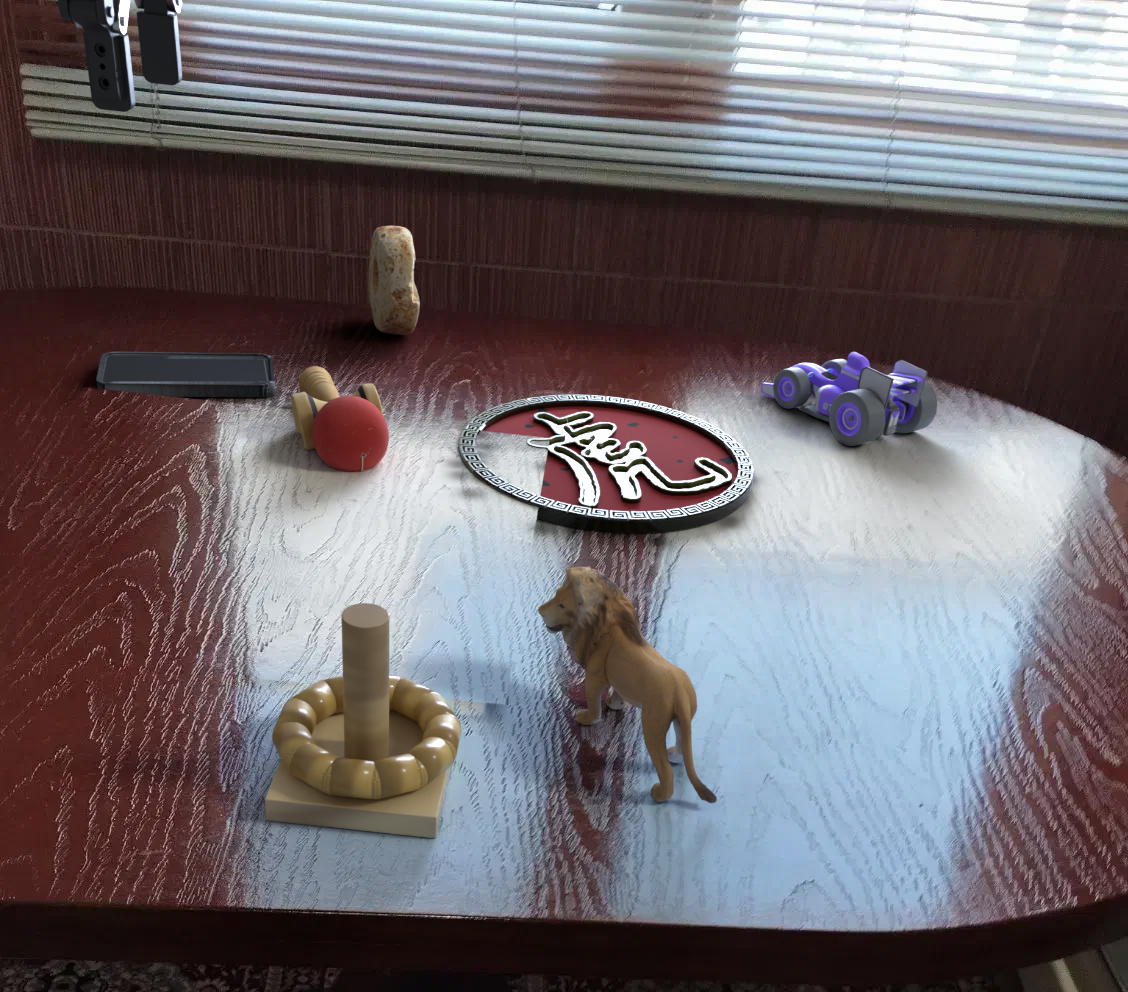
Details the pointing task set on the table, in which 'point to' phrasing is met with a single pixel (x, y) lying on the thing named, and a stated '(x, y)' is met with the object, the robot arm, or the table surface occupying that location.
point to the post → (362, 744)
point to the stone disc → (393, 281)
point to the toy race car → (858, 397)
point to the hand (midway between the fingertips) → (140, 95)
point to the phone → (188, 374)
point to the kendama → (340, 422)
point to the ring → (366, 775)
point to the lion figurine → (626, 670)
